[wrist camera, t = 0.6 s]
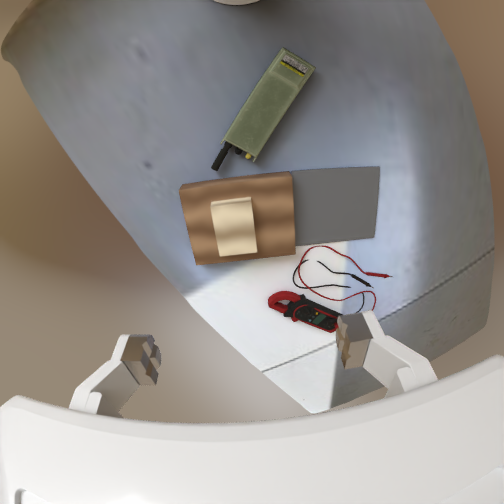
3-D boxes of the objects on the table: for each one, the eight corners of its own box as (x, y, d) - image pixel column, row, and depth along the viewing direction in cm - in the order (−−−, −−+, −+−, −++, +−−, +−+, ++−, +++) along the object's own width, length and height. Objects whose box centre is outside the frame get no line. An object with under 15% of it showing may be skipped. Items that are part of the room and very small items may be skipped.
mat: (291, 171, 50) (291, 171, 50) (378, 166, 50) (379, 167, 50) (295, 245, 59) (295, 246, 58) (373, 236, 58) (374, 237, 58)
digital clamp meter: (338, 345, 71) (262, 315, 64) (334, 333, 75) (260, 302, 68) (399, 286, 61) (327, 239, 54) (392, 275, 65) (321, 228, 57)
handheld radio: (280, 49, 38) (208, 164, 49) (283, 45, 35) (206, 168, 46) (313, 69, 40) (240, 180, 51) (317, 67, 37) (240, 186, 48)
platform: (182, 184, 51) (178, 190, 48) (288, 171, 50) (291, 176, 47) (198, 256, 59) (196, 265, 56) (292, 245, 59) (295, 254, 56)
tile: (211, 201, 49) (210, 207, 47) (250, 196, 49) (251, 202, 47) (220, 249, 55) (219, 256, 52) (256, 245, 54) (257, 252, 52)
